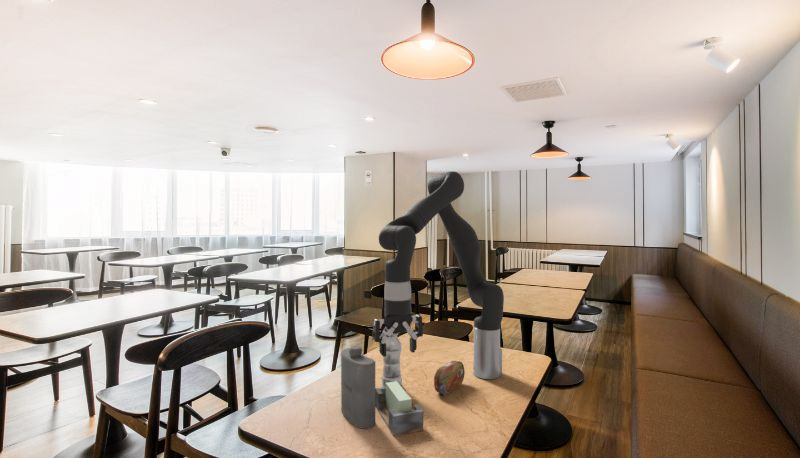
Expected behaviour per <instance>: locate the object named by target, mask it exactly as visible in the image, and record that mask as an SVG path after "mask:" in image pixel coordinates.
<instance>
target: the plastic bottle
mask: <svg viewBox="0 0 800 458" xmlns="http://www.w3.org/2000/svg"><path fill="white" fill-rule="evenodd" d="M398 335H399V333H397V334H393V333H392V334H391V336H390V337H389V338H388V339H387V340H386V342H385V343H386V357H383V356H382V358H383V359H382V360H383V371H382V378H381V385H382V386H381V387H386V383H388V382H394V381H397V382H398V383H399V384H401V385H402V386H403V378H402V371H401V353H402V342H401V340H400V339H399V337H398Z"/></svg>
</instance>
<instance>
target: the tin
mask: <svg viewBox="0 0 800 458" xmlns="http://www.w3.org/2000/svg"><path fill="white" fill-rule="evenodd" d="M433 376H434V377H433V386H434V390H435V392H436V393H438V394H440V395H443V396H446V395H448V394H450V393H452V392H453V391H454V390H456V389H458V388H460V387H461V385H462V383H463V381H464V379H465V365H464V364H463V362H461V361H460V360H459V361H458V360H451V361H449V362H448V363H446V364H444V365H442V366H440V367H439V368H437V370H436V372H435V374H434V375H433Z"/></svg>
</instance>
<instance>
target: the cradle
mask: <svg viewBox="0 0 800 458" xmlns="http://www.w3.org/2000/svg"><path fill="white" fill-rule="evenodd" d="M399 385H400V386H401V387H402V388H403V389H404V391H405V392H406V393H407V391H406V388H405V387H404V386H403V384H402V385H401V384H399ZM375 409H377V412H378V413H379V415H380V416H381V418H382V420H383V422H384V423H385V425H386V427H387V429H388V430H389V432H390V433H391V434H392V437H397V436H401V435H405V434H411V433H412V434H413V433H418V432H423V431H424V410H423V409H422V408H421V407H420V404H413V410H411V411H408V412H402V413H397V414H396V412H395V411H394V409H389V411H388V409H387V408H386V387H383V386H380V387H375Z"/></svg>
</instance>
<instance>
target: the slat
mask: <svg viewBox="0 0 800 458" xmlns="http://www.w3.org/2000/svg"><path fill="white" fill-rule="evenodd" d="M386 408H387V409H388V411H389V409H394V411H395V412H396V414H397V413H402V412H408V411H412V397H410V395H409V394H408V393H407V391H406V392H405V391H404V389H403V388H402V387H401V386H400V385H399V383H398V382H397V381H394V382H388V383H386Z"/></svg>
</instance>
